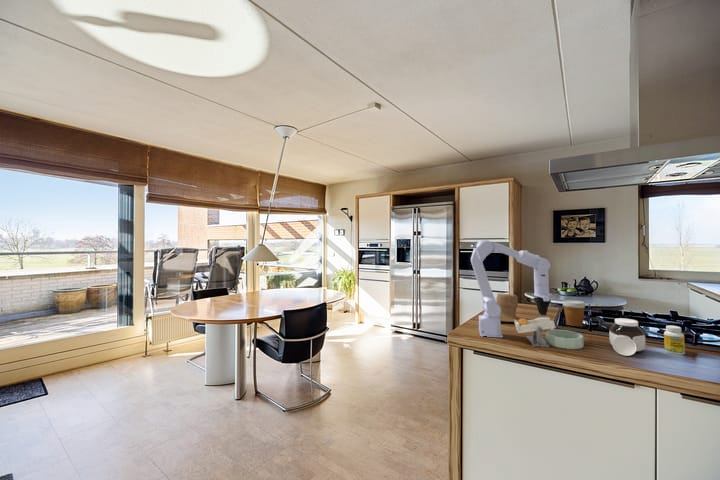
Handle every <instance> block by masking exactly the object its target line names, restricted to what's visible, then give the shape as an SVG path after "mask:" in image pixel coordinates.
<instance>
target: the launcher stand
mask: <svg viewBox="0 0 720 480" xmlns="http://www.w3.org/2000/svg"><path fill="white" fill-rule="evenodd" d="M542 332H543V330H542V328H541V327H538V331H532V335H526V338H527V340H528V341H529V343H530V342H531V343H530V344H531V345H533V346H532V347H535V346H541V347H540V348H550V346H551V345H550V344H548V343H547V342H546V339H545V338H544V337H543V333H542Z"/></svg>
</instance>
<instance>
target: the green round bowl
mask: <svg viewBox="0 0 720 480" xmlns="http://www.w3.org/2000/svg"><path fill="white" fill-rule="evenodd" d="M545 341H546V342H547V343H548V344H549V345H550V346H553V347H555V348H559V349H560V348H561V349H565V348H566V349H567V350H577V349H578V350H579V349H582V348H583V347H584V346H585V345H584V344H585V343H584V342H585V341H584V336H583V334H582V333H579V332H576V331H573V330H567V329H547V330H546V331H545ZM566 349H565V350H566Z"/></svg>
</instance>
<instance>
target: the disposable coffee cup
mask: <svg viewBox="0 0 720 480" xmlns="http://www.w3.org/2000/svg"><path fill="white" fill-rule="evenodd" d="M562 301H563V302H562V304H561V305H562V307H563V312H564V316H565V321H566V326H567V325H571V326H582V327H583V324H584V314H585V307H586V304H585V301H582V300H576V299H566V300H564V299H563V300H562Z"/></svg>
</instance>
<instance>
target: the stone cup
mask: <svg viewBox="0 0 720 480" xmlns="http://www.w3.org/2000/svg"><path fill="white" fill-rule="evenodd" d="M495 300H496V303H497V304H498V305H499V306H500V308H501V313H500V322H501V323H514V320H517V322H518V320H519V319H521V318H520V317H518V316H517V315H516V314H517V312H516V311H517V308H518V305H519V304H518V303H519V298H518V295H516V294H511V293H497V294H496V298H495Z"/></svg>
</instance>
